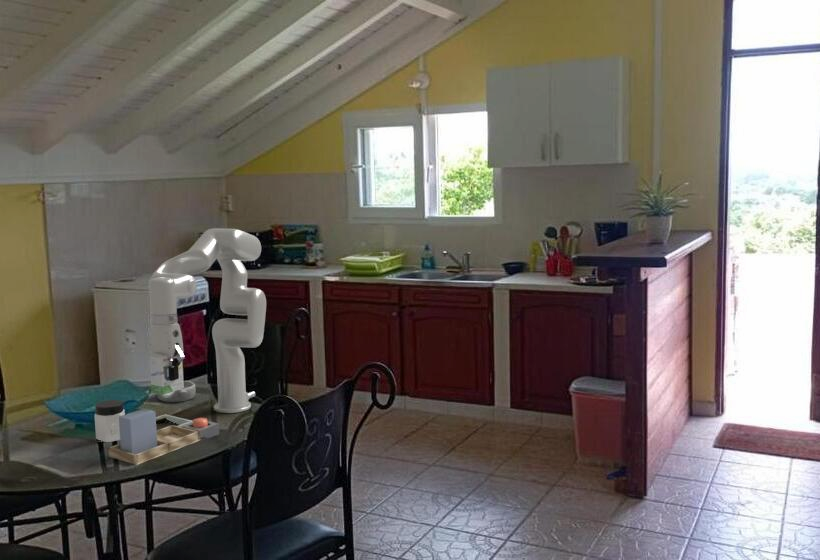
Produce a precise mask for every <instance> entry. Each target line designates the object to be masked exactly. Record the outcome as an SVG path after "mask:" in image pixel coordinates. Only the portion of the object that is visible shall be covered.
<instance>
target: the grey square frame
mask: <svg viewBox="0 0 820 560" xmlns="http://www.w3.org/2000/svg"><path fill="white" fill-rule="evenodd" d="M207 423H208V426H206V427H203V428H200V429H199V428H195V427H193V422H192V423H189V424H187V425H184V426H182V427H183V428H187V429H191V430H195V431H199V432H200V439H201V438H206V439H211V438H213V437H216V436H219V435H220V423H217V422H213V421H210V420H207Z"/></svg>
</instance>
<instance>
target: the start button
mask: <svg viewBox="0 0 820 560" xmlns="http://www.w3.org/2000/svg"><path fill="white" fill-rule="evenodd" d="M192 421H193V427H195V428H199V429H200V428H203V427H206V426H208V423H207V421H208V418H206V417H198V418H197V417H196V418H194V419H192Z"/></svg>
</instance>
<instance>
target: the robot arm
mask: <svg viewBox="0 0 820 560" xmlns="http://www.w3.org/2000/svg"><path fill="white" fill-rule="evenodd" d="M261 252H262V245H261V242H260V240H259V238H258V237H257V236H255V235H253V234H250V233H248V232H246V231H243V230H240V229H237V228H223V227H222V228H221V227H220V228H217V227H216V228H215V227H214V228H209V229H207V230H205V231H204V232H203V233H202V234H201V235H200V236H199V238H198V239H197V240H196V241H195V242H194V244H193V245H192V246H190V248H189V249H188V250H186V251H184V252H182V253H180V254H178V255H175V256H174V257H172V258H169V259H166V260H165V261H164V262H163V263H161V264H160V265H159V266H158V268H156V270H154V272H153V274H152V275H151V277H150V279H149V282H148V294H149V309H150V310H149V311H150V326H149V348H148V351H147V353H148V355H149V356H150V355H151V354H154V353H157V354H161V355H165V356H166V357H167V358H168V359H169V364H170V368H169V380H170V381H173V380H177V379H179V371H178V366H180V363H181V362H182V363H183V361H184V359H185V358H186V357H185V355H184V343H183V335H182V334H183V333H182V330H181V329H182V328H181V325H180V324H179V323H178V320H179V319H178V312H177V311H178V310H177V300H183V299H189V298H191V297H192V296H193V295H194V294H195V293H196V292H197V287H198V283H197V280H196V279H195V277H194V276H193V275H198V274H201V273H204V272H206V271H207V270H209V269H210V268H211V267H212V265H213V264H214V263H215V262H216V260H217V262H218V264H219V266H220V268H221V273H222V276H221V277H222V278H221V279H222V280H221V289H220V299H219V307H220V310H221V311H222V313H224V314H227V315H236V316H247V319H246V318H245V319H244V318H228V317H227V318H221V319H218V320H217V321H215V322H214V324H213V325H212V329H211V335H212V340H213V344H214V349H215V360H216V377H217V379H216V380H217V381H216V382H217V399H218V400H217V402H216V403H215V404H214V405H213V410H214V411H216V412H217V413H222V414H235V413H241V412H244V411H247V410H249V409H250V408H251V406H252V403H251V402H250V401H249V400H250V399H251V398H254V397H256V392H255V391H249V392H247V391H246V390H247V388H246V362H245V355H244V352H243V351H242V349H241V348H250V349H251V348H253V349H254V348H257V347H259V346H260V345H261V343H262V342H263V339H264V332H265V325H266V324H265V323H266V315H267V314H266V312H267V298H266V295H265V292H264V291H263V290H261V289H260V288H256V287H248V271H247V269H246V267H245V265H244V264H243V262H246V261H247V262H252V261H256V260H257V259H258V258H259V257H260V256H261ZM174 355H175V356H174ZM173 356H174V357H173ZM172 359H174V360H175V361H174V362H173V360H172Z"/></svg>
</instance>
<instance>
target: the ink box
mask: <svg viewBox="0 0 820 560" xmlns="http://www.w3.org/2000/svg"><path fill="white" fill-rule="evenodd" d="M174 356H175V355H174ZM174 356H173V357H174ZM172 360H173V362H174V361H175V360H174V359H172ZM149 364H150V367H149V368H150V383H151V384H150V387H151V388H150V389H151V393H152V394H156V395H157V394H160V395H164V394H167V393H170V392H173V391H176V390H179V389H182V388H184V384H183V381H184V368H183V367H184V366H183V365H184V364H183V361H182V362H181V363H180V366H178V371H179V379H177V380H173V381H170V380H169V368H170V364H169V359H168V358H167V357H166V356H165V355H161V354H157V353H154V354H151V355H149Z"/></svg>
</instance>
